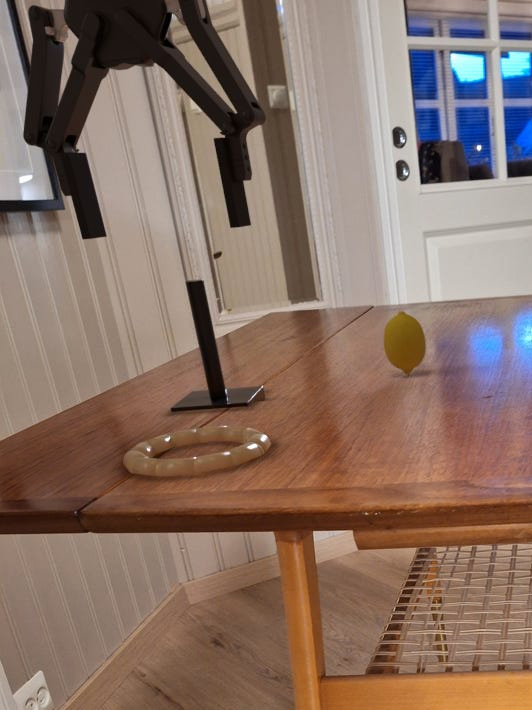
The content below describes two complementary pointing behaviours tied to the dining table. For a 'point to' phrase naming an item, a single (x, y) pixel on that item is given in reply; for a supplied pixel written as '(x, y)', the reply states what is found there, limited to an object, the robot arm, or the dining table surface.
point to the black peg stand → (212, 363)
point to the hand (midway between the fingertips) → (166, 233)
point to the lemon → (404, 342)
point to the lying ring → (144, 464)
